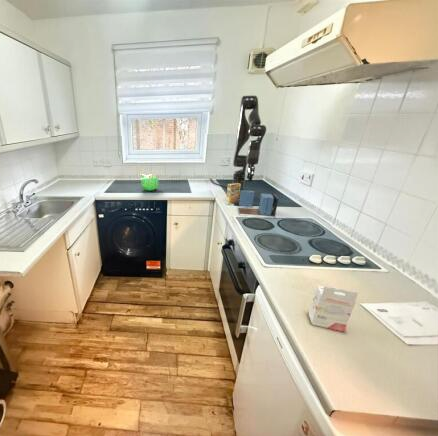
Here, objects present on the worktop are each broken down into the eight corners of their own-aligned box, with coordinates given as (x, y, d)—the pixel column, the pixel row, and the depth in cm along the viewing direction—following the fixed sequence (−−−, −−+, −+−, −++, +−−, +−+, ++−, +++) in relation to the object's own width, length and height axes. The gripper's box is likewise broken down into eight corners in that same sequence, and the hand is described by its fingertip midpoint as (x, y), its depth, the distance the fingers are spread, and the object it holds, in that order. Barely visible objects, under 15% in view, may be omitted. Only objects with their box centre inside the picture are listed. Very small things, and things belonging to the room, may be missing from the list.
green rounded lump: (158, 192, 209) (159, 176, 204) (139, 192, 210) (139, 176, 204) (158, 187, 226) (158, 172, 220) (140, 187, 226) (140, 172, 221)
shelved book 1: (258, 209, 166) (261, 193, 161) (262, 210, 165) (265, 193, 160) (260, 214, 158) (263, 197, 153) (265, 214, 157) (268, 197, 152)
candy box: (228, 204, 179) (231, 185, 173) (225, 203, 183) (227, 183, 177) (238, 203, 181) (241, 184, 175) (234, 201, 185) (237, 182, 179)
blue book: (238, 205, 177) (240, 190, 172) (251, 206, 175) (254, 190, 170) (238, 207, 174) (241, 191, 170) (251, 208, 172) (254, 192, 167)
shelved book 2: (263, 210, 165) (266, 193, 160) (267, 210, 164) (271, 194, 159) (265, 215, 157) (268, 197, 152) (270, 215, 156) (274, 198, 151)
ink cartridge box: (338, 320, 76) (353, 283, 70) (344, 332, 72) (360, 293, 66) (307, 313, 79) (319, 276, 73) (311, 324, 75) (324, 286, 69)
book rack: (237, 208, 170) (240, 191, 165) (271, 211, 165) (274, 193, 160) (239, 215, 160) (242, 196, 155) (274, 218, 154) (279, 199, 149)
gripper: (260, 158, 153) (256, 182, 159) (257, 155, 166) (253, 178, 172) (248, 157, 155) (244, 182, 161) (246, 155, 168) (242, 177, 174)
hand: (249, 180), depth 167 cm, fingers open, 8 cm apart
